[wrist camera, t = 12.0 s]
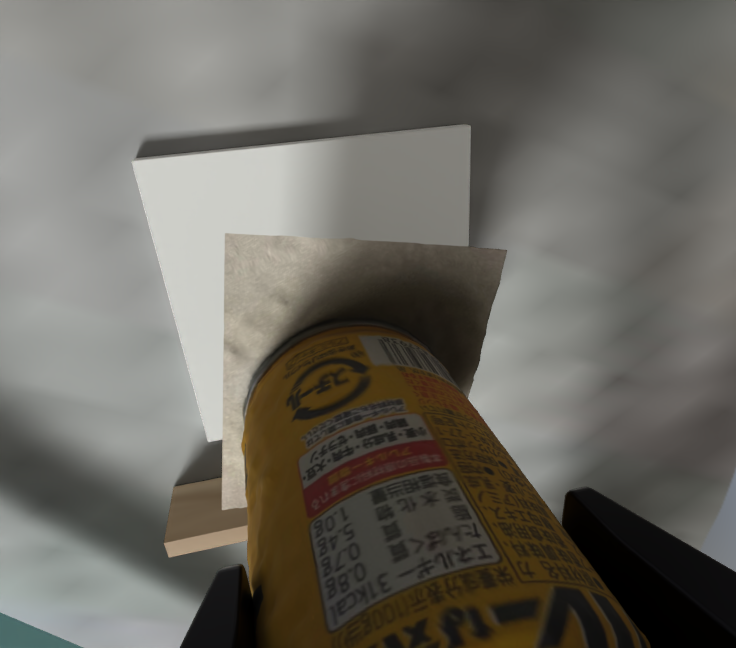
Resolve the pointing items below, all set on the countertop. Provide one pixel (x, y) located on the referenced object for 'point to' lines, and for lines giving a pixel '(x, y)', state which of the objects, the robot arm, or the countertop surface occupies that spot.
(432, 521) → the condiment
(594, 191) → the countertop surface
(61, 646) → the bar
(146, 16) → the countertop surface
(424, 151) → the mat
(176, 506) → the holder
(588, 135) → the countertop surface
